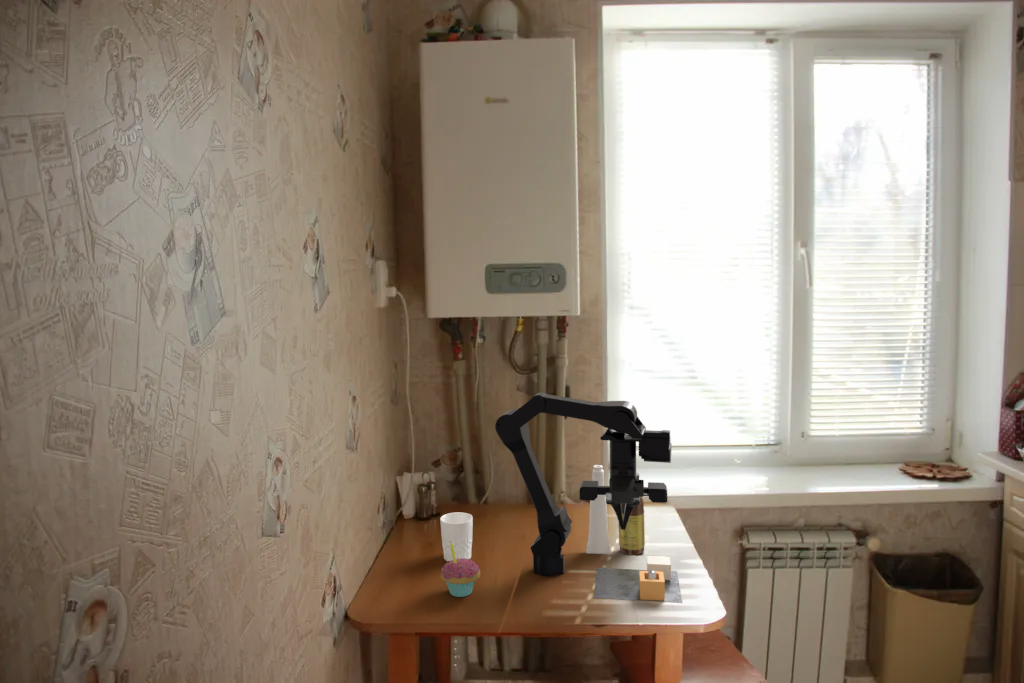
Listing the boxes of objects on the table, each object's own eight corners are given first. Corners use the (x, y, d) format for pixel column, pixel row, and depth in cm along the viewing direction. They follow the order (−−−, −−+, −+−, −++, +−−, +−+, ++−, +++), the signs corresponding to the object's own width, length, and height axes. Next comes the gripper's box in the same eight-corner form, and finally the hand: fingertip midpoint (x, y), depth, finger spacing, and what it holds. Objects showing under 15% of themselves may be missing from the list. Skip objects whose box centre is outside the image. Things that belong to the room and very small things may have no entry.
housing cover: (647, 578, 157) (647, 563, 157) (646, 570, 161) (647, 555, 161) (670, 579, 156) (670, 565, 156) (669, 571, 160) (669, 556, 160)
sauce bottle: (627, 544, 180) (627, 467, 178) (649, 550, 176) (649, 472, 174) (613, 552, 175) (613, 474, 173) (636, 559, 171) (636, 478, 169)
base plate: (594, 603, 149) (593, 574, 149) (596, 572, 164) (596, 546, 163) (682, 608, 146) (682, 579, 146) (677, 576, 161) (677, 550, 160)
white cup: (459, 548, 180) (458, 509, 179) (480, 556, 174) (479, 517, 173) (434, 557, 174) (433, 518, 173) (455, 566, 169) (454, 526, 168)
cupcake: (448, 604, 150) (446, 549, 149) (436, 587, 158) (434, 535, 157) (486, 596, 154) (485, 542, 152) (472, 580, 161) (471, 529, 160)
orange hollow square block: (640, 599, 148) (640, 580, 148) (639, 588, 153) (639, 570, 153) (664, 600, 147) (664, 582, 147) (663, 589, 152) (663, 571, 152)
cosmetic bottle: (599, 546, 179) (599, 461, 177) (616, 554, 174) (615, 466, 172) (581, 552, 176) (580, 465, 173) (597, 560, 171) (596, 471, 168)
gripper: (577, 469, 149) (578, 541, 150) (669, 471, 146) (668, 545, 147) (580, 455, 160) (581, 522, 161) (665, 457, 157) (665, 525, 158)
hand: (623, 529), depth 157 cm, fingers closed
